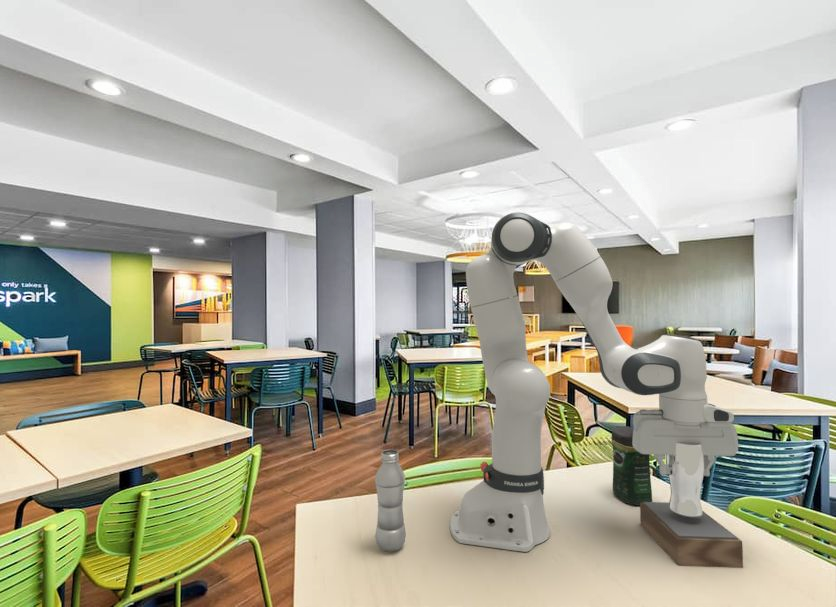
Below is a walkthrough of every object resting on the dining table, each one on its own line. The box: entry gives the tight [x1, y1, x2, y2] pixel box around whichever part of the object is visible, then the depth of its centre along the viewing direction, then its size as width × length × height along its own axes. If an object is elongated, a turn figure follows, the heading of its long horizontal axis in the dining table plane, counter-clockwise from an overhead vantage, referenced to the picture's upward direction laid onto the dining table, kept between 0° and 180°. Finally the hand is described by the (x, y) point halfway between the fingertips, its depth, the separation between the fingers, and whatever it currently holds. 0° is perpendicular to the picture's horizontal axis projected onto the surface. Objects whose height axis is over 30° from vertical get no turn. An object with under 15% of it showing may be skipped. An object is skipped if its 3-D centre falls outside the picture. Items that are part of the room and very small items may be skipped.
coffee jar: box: [611, 425, 653, 506], centre depth 111 cm, size 10×8×19 cm
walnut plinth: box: [639, 501, 744, 568], centre depth 89 cm, size 12×16×5 cm
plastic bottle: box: [374, 449, 407, 552], centre depth 89 cm, size 6×7×20 cm
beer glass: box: [665, 442, 705, 518], centre depth 89 cm, size 7×7×15 cm
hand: (684, 474), depth 89 cm, fingers closed on beer glass, 6 cm apart
